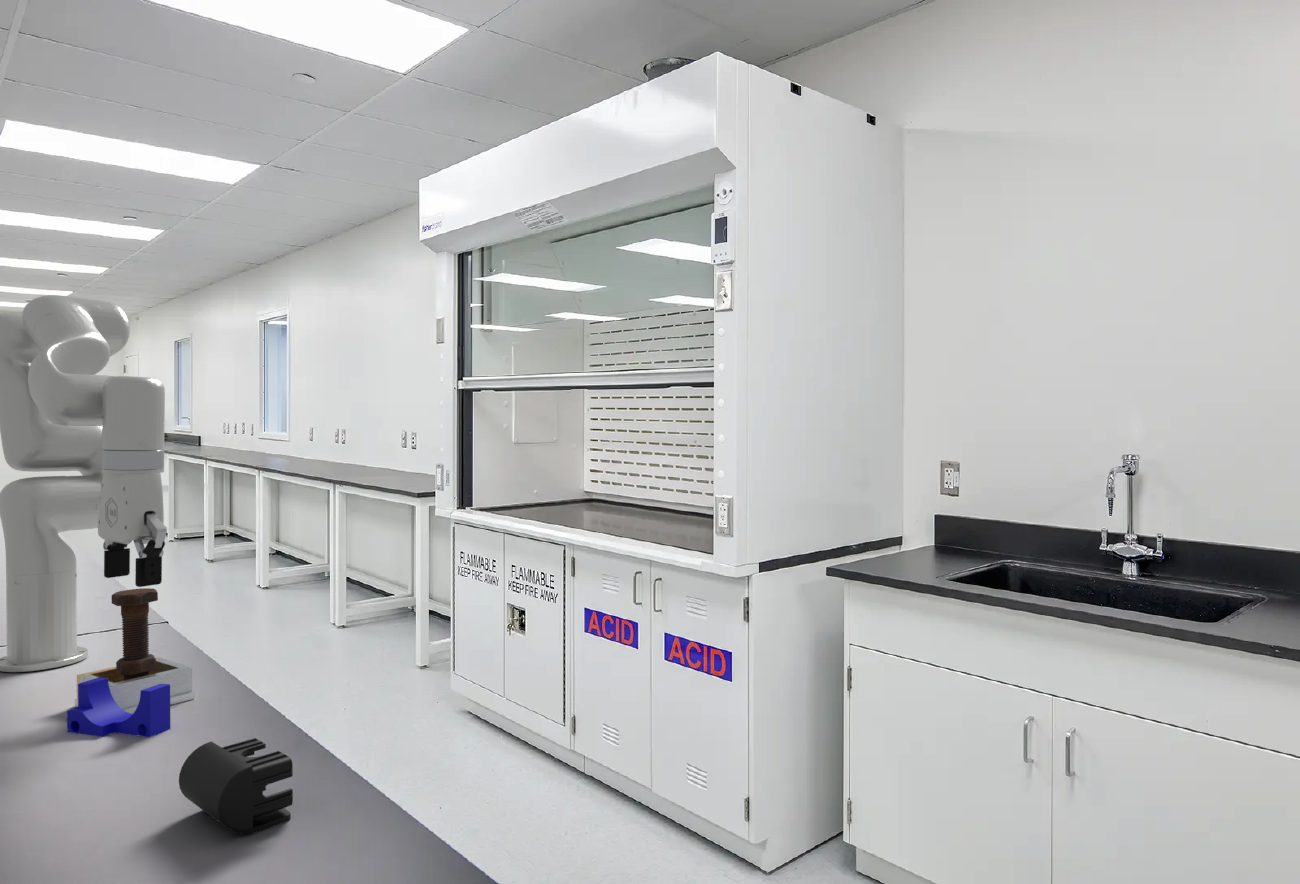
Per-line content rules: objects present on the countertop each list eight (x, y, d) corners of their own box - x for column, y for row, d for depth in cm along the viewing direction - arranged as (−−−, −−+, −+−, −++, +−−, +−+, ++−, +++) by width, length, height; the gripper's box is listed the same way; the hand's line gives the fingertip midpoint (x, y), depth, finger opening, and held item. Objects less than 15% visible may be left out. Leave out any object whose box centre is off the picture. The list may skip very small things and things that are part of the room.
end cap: (178, 817, 79) (177, 749, 79) (251, 792, 85) (250, 729, 85) (218, 850, 73) (218, 776, 73) (295, 821, 78) (294, 753, 78)
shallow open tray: (74, 706, 113) (74, 674, 112) (157, 685, 122) (157, 656, 122) (109, 721, 106) (109, 687, 106) (194, 698, 116) (194, 667, 116)
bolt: (133, 703, 110) (131, 595, 110) (104, 701, 112) (102, 594, 112) (167, 690, 116) (165, 587, 116) (139, 688, 117) (137, 587, 117)
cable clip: (67, 733, 103) (66, 687, 102) (99, 721, 107) (99, 677, 107) (139, 742, 99) (139, 695, 99) (170, 730, 104) (170, 684, 104)
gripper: (77, 460, 116) (76, 577, 116) (133, 466, 106) (131, 593, 107) (134, 459, 122) (132, 569, 122) (191, 464, 112) (189, 584, 113)
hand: (132, 580), depth 114 cm, fingers open, 9 cm apart
